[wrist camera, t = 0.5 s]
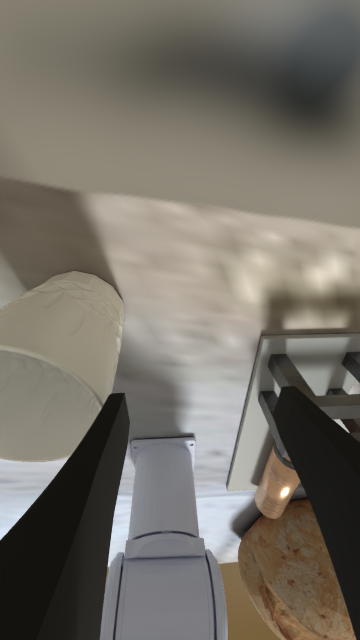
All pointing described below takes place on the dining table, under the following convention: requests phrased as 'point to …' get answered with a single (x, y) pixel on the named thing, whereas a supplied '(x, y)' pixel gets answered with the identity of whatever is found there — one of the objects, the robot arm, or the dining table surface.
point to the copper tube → (276, 485)
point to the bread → (293, 577)
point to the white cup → (56, 364)
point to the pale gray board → (312, 363)
